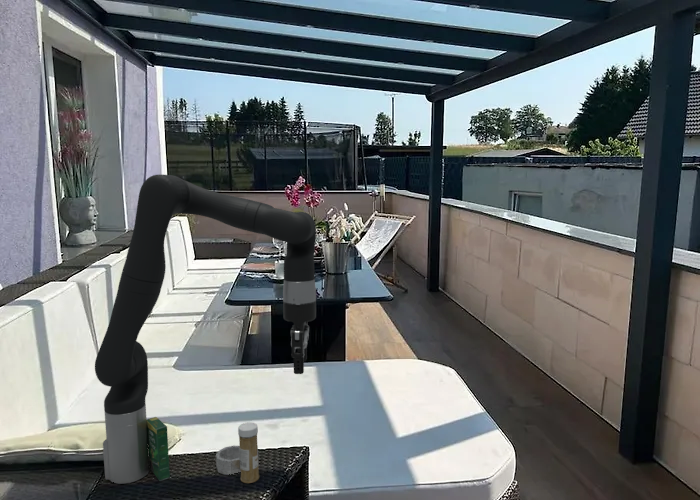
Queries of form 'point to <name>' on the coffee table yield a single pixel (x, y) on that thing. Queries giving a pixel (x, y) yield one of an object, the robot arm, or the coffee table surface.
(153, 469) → the coffee box
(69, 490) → the coffee table surface
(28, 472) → the coffee table surface
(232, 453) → the aluminium ring
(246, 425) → the sprinkles bottle
